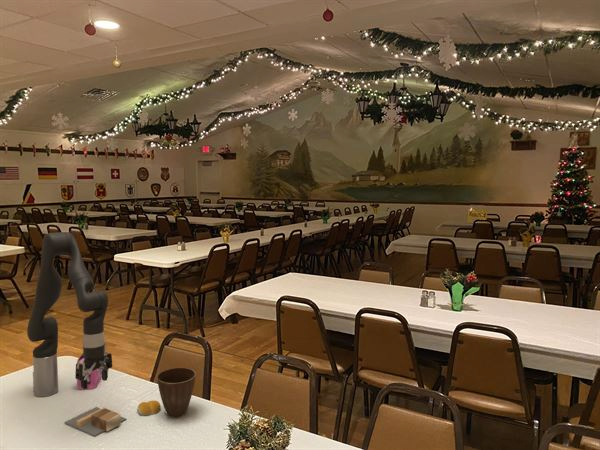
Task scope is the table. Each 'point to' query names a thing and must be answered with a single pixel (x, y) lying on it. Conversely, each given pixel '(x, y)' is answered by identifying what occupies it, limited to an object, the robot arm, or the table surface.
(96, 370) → the gum box
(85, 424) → the mat
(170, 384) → the plant pot
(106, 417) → the brown wooden block
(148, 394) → the table surface
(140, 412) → the bread roll
